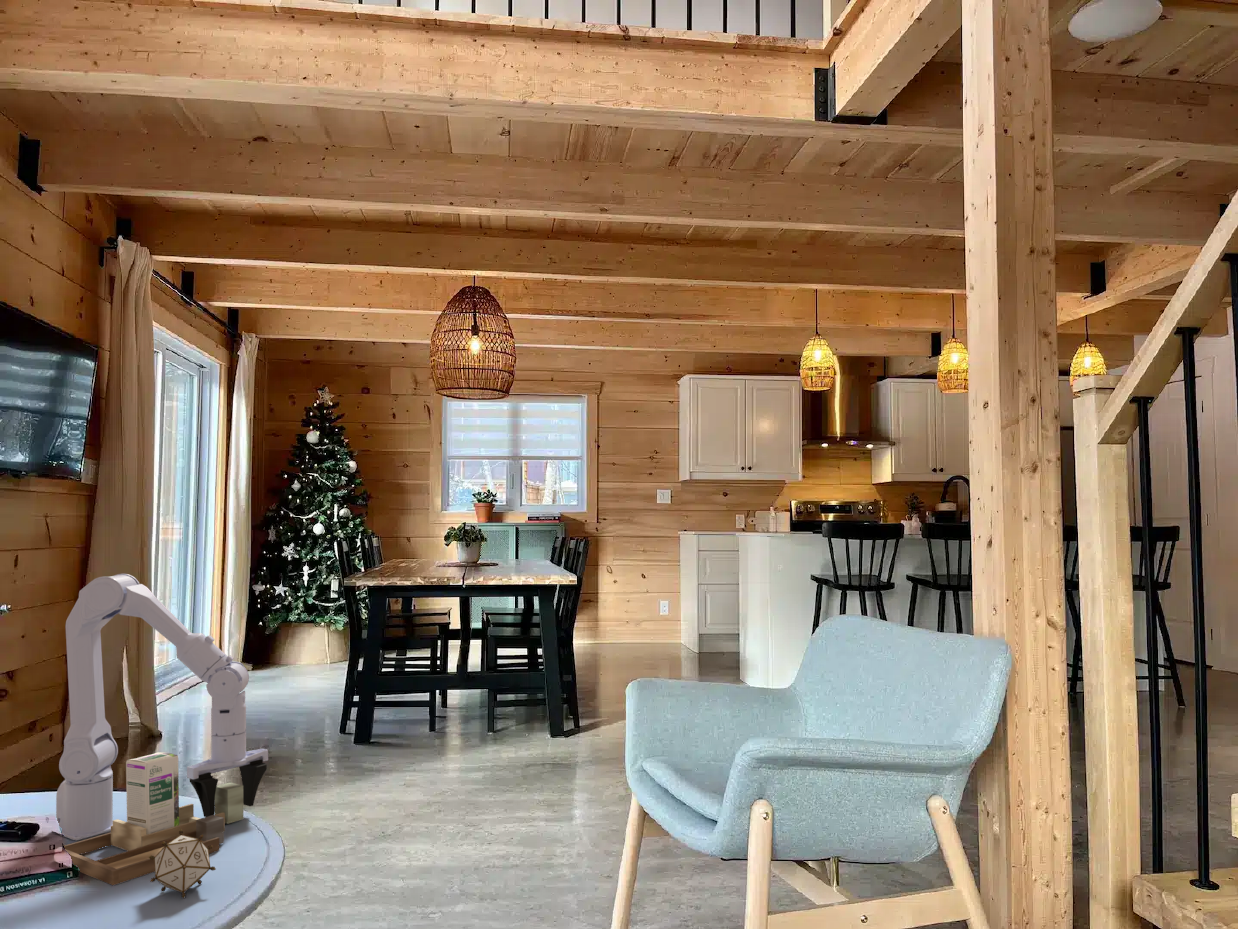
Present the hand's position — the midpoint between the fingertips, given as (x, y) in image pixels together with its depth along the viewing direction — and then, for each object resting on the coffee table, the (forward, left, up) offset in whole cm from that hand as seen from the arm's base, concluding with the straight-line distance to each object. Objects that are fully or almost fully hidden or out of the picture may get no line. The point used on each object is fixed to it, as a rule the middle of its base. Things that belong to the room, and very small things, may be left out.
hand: (229, 811), depth 167 cm
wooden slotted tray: (0, -8, -1) cm, 8 cm away
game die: (+23, -22, -2) cm, 32 cm away
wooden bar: (+9, -16, -2) cm, 18 cm away
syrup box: (+1, -14, -2) cm, 14 cm away
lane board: (+3, -18, -2) cm, 18 cm away
